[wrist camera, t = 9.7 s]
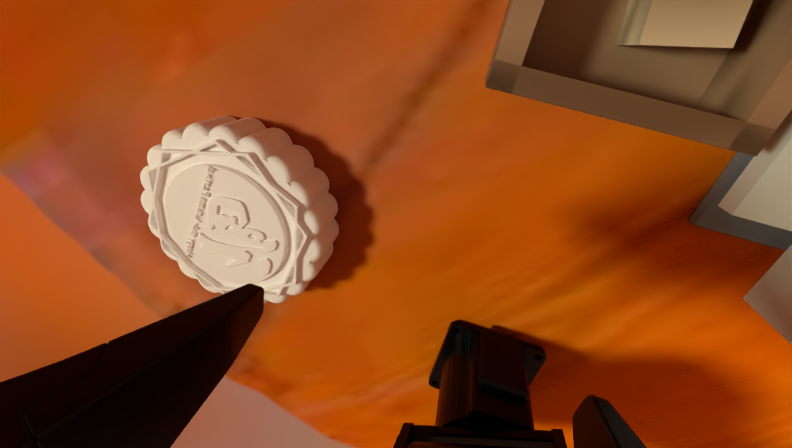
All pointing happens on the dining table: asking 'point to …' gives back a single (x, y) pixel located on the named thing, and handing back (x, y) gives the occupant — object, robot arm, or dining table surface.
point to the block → (683, 23)
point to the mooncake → (240, 206)
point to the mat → (729, 224)
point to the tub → (650, 71)
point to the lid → (769, 222)
